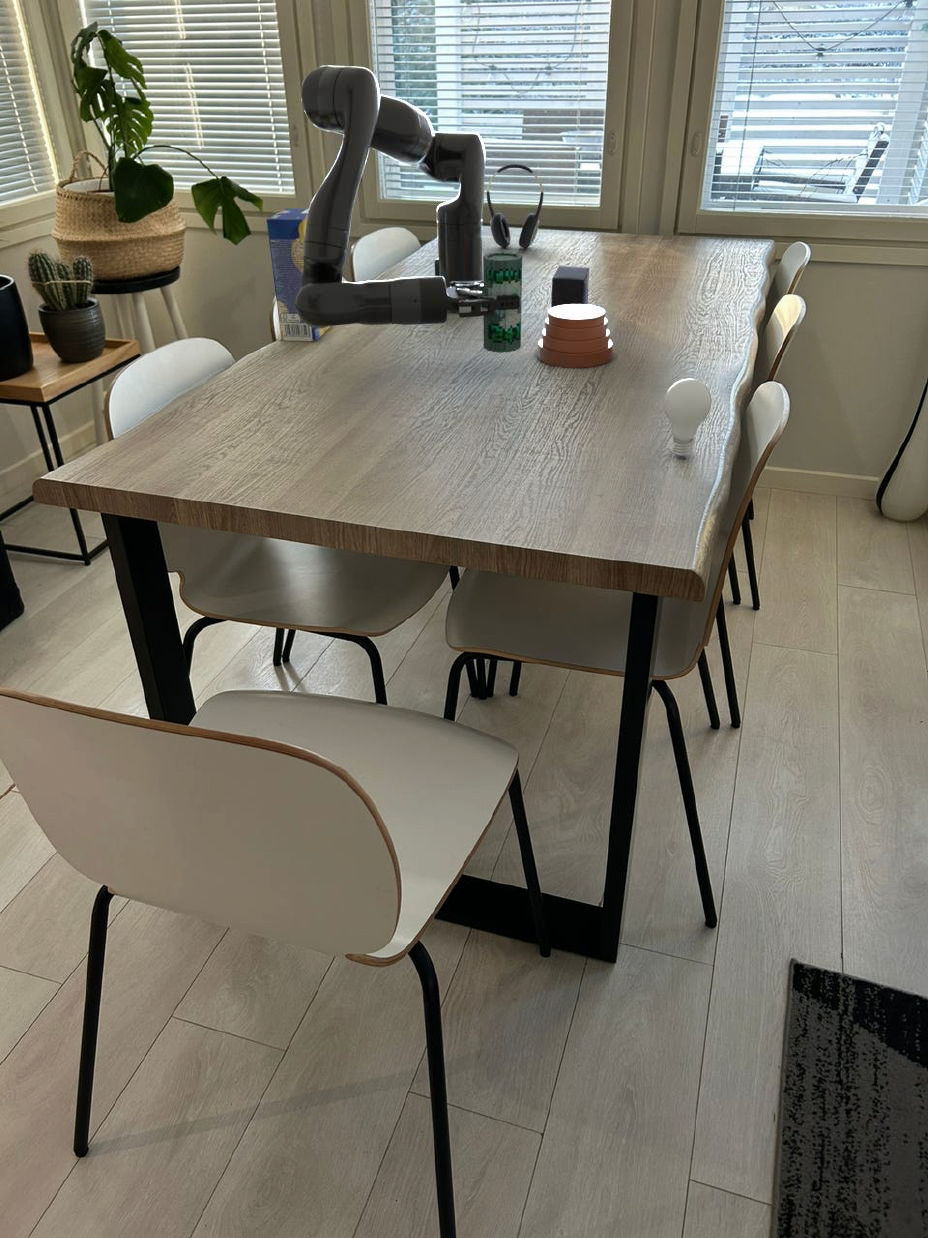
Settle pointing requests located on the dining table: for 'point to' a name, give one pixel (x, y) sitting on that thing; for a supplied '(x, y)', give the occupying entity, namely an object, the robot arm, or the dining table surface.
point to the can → (502, 280)
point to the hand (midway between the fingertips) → (515, 296)
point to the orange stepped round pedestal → (575, 337)
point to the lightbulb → (686, 412)
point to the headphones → (500, 224)
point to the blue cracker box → (289, 271)
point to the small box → (570, 286)
